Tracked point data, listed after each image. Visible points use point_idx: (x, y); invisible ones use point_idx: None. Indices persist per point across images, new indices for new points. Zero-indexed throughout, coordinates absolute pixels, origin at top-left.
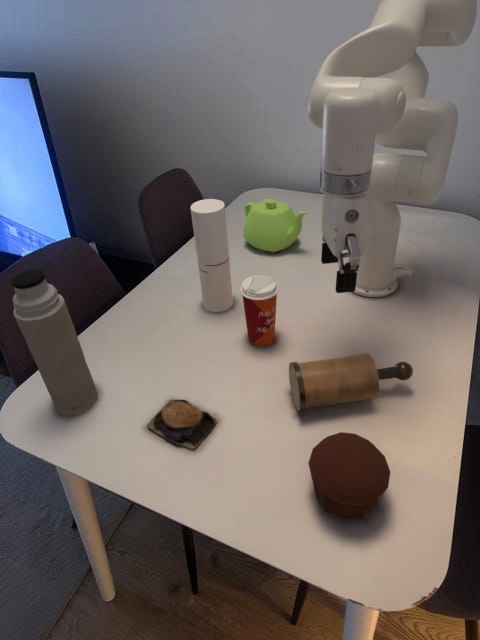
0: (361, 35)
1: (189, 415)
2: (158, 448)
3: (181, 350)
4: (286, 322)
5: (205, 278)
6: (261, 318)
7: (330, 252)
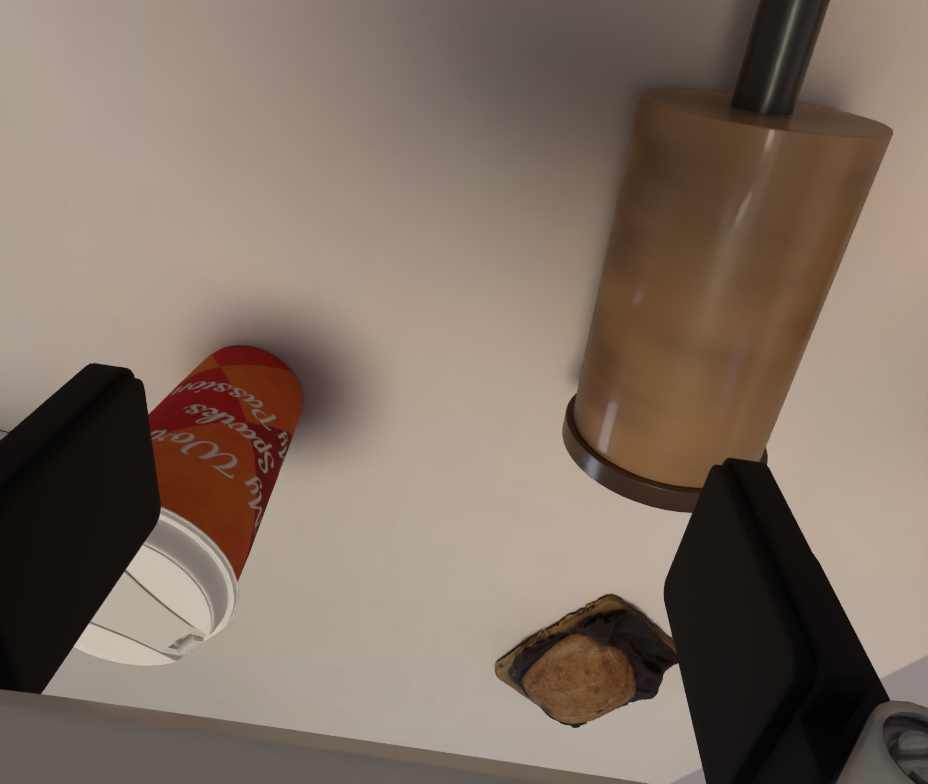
0: None
1: (610, 687)
2: (637, 703)
3: (278, 616)
4: (152, 266)
5: None
6: (266, 501)
7: (78, 551)
